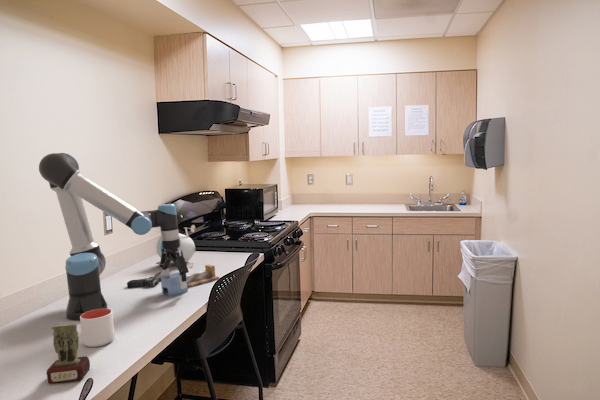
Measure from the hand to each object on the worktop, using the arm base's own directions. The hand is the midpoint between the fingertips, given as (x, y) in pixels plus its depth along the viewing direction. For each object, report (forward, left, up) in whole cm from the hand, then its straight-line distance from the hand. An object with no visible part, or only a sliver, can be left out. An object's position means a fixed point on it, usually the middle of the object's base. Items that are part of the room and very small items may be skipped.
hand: (175, 285), depth 209 cm
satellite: (+29, +47, -3) cm, 55 cm away
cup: (-45, -27, -3) cm, 53 cm away
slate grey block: (0, 0, -3) cm, 3 cm away
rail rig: (+15, +7, -3) cm, 17 cm away
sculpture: (-61, -45, -3) cm, 76 cm away
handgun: (+2, +28, -4) cm, 28 cm away
